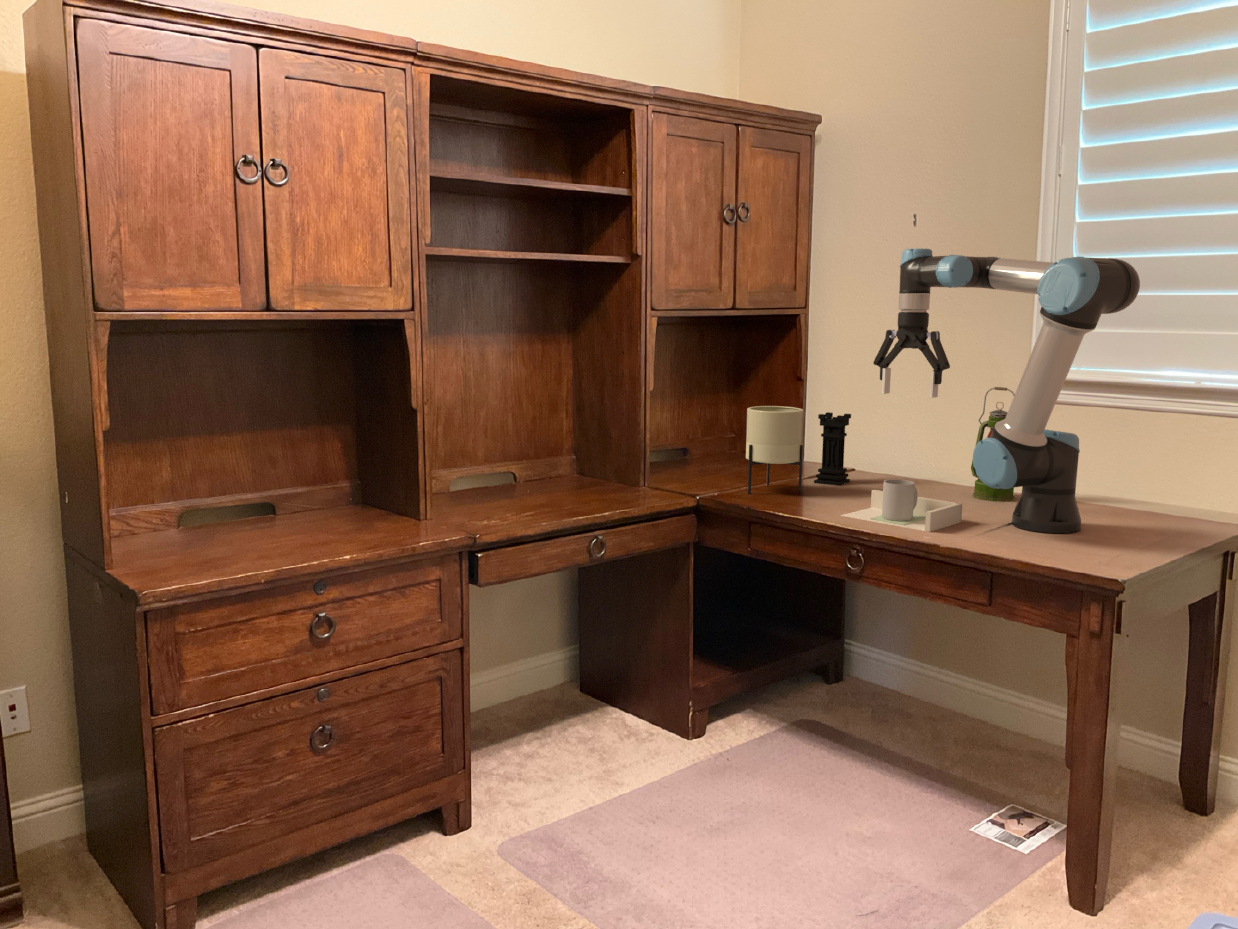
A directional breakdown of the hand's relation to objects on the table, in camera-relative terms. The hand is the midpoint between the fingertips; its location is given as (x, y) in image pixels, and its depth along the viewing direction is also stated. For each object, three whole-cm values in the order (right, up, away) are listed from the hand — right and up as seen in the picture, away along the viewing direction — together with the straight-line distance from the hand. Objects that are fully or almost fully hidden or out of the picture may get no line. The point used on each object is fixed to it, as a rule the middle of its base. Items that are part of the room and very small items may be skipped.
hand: (909, 395), depth 261 cm
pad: (-6, -31, -14) cm, 34 cm away
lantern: (+28, -27, +16) cm, 42 cm away
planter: (-31, -25, +23) cm, 46 cm away
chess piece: (-12, -23, +38) cm, 46 cm away
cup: (-6, -31, -14) cm, 34 cm away
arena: (-6, -31, -13) cm, 35 cm away
